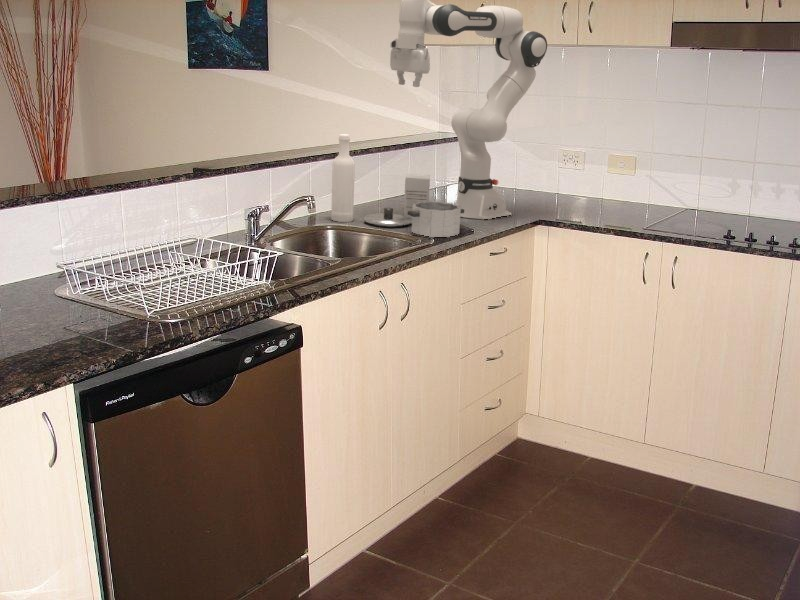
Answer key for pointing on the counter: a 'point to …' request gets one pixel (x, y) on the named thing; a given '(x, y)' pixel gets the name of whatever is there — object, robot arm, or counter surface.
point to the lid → (388, 219)
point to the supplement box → (415, 191)
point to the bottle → (343, 183)
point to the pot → (435, 219)
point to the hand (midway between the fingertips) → (408, 85)
